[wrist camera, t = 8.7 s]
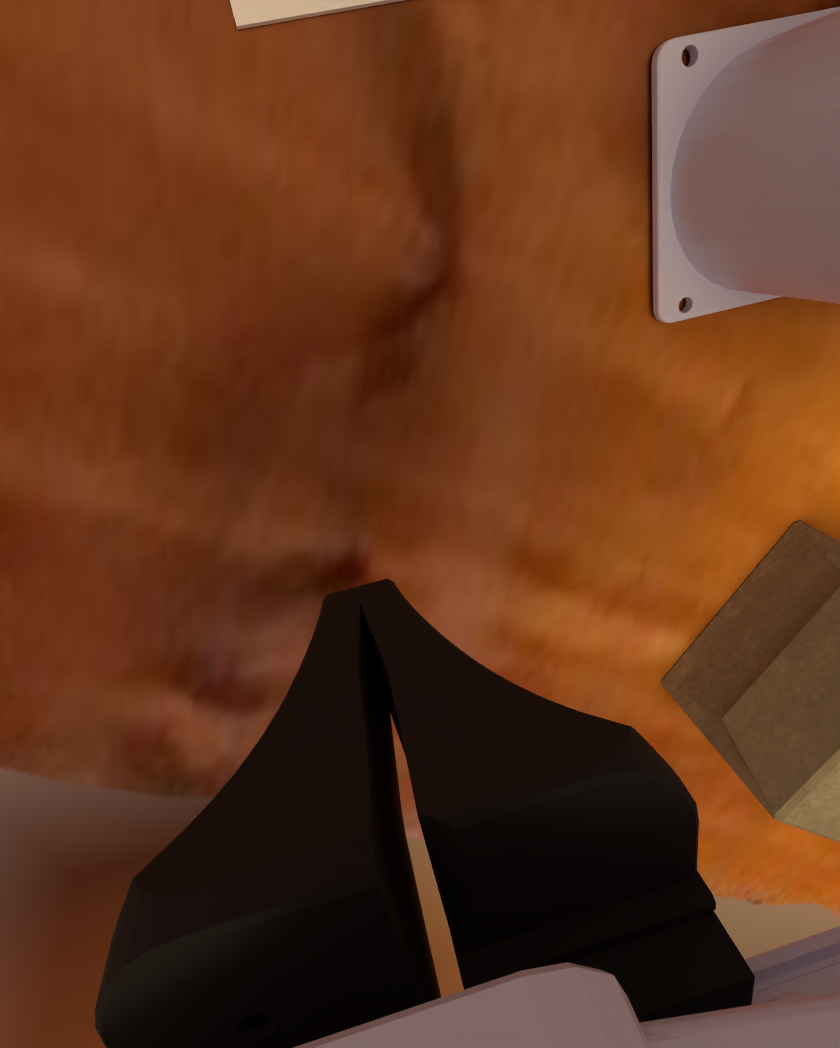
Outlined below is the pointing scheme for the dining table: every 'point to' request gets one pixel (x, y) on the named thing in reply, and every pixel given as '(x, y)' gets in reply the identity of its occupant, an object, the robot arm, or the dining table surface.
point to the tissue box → (775, 681)
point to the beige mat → (291, 9)
